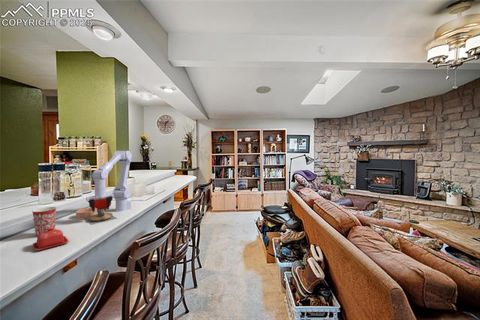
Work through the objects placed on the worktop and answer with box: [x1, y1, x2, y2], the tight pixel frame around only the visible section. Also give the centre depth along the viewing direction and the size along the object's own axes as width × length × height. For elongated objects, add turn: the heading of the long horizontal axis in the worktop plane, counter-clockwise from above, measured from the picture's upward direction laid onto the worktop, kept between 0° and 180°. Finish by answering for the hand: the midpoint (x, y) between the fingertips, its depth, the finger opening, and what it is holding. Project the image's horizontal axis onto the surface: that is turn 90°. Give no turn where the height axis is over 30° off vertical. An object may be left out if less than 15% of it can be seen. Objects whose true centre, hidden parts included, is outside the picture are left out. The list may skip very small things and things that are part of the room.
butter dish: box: [32, 227, 69, 251], centre depth 94 cm, size 12×12×8 cm
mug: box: [32, 206, 57, 238], centre depth 107 cm, size 13×9×14 cm
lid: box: [88, 209, 114, 221], centre depth 127 cm, size 12×12×6 cm
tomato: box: [88, 198, 112, 210], centre depth 150 cm, size 14×13×9 cm
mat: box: [83, 215, 118, 226], centre depth 127 cm, size 14×14×1 cm
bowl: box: [75, 207, 98, 220], centre depth 133 cm, size 11×11×4 cm
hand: (100, 210), depth 127 cm, fingers open, 7 cm apart
